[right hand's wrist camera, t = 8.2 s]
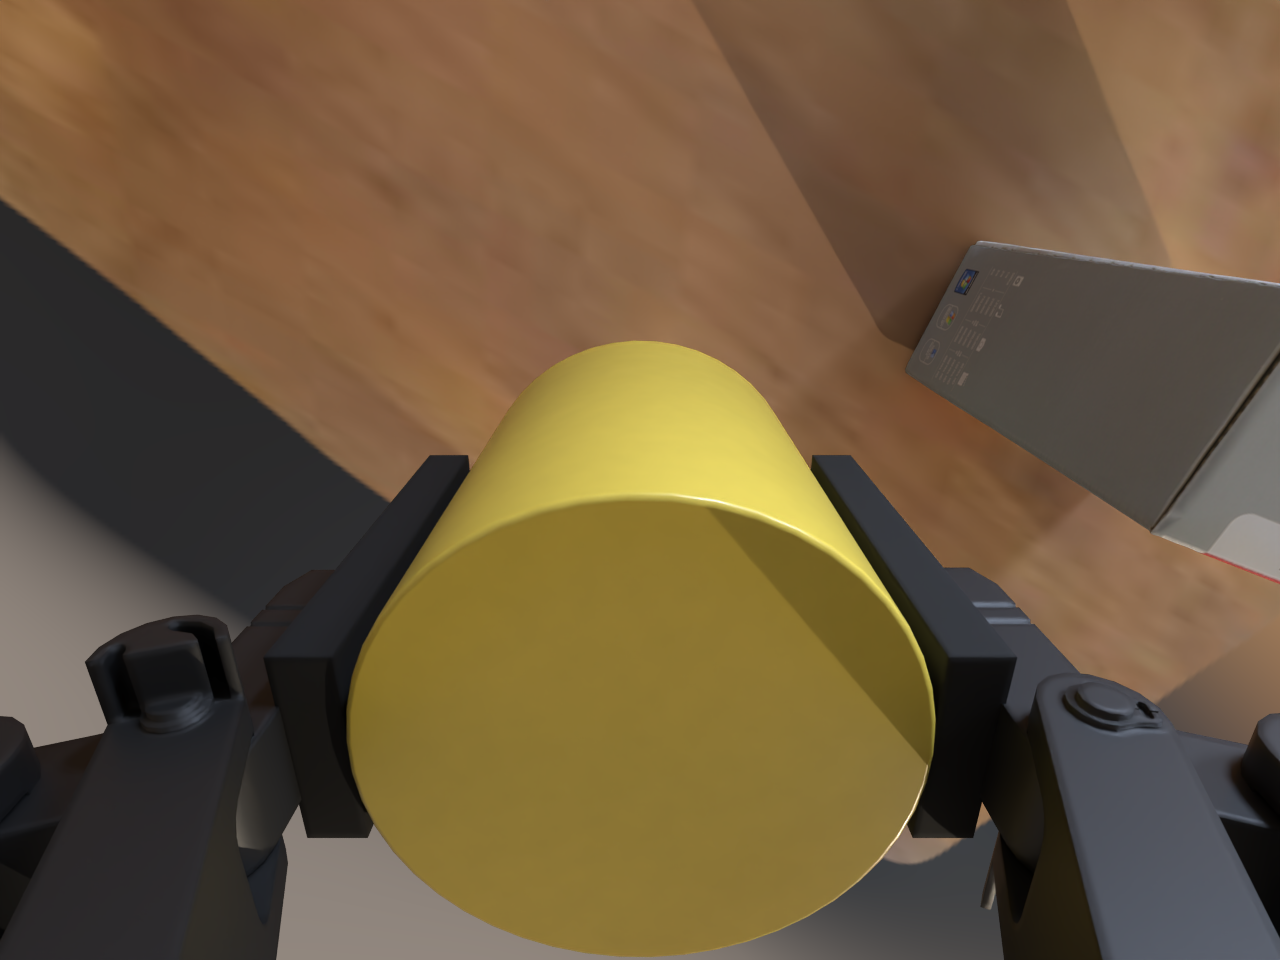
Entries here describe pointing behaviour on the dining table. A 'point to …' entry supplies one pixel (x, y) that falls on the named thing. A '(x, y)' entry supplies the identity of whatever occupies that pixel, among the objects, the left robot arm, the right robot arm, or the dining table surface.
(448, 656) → the tin
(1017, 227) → the dining table surface
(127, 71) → the dining table surface
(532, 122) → the dining table surface
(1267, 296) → the hard drive box
